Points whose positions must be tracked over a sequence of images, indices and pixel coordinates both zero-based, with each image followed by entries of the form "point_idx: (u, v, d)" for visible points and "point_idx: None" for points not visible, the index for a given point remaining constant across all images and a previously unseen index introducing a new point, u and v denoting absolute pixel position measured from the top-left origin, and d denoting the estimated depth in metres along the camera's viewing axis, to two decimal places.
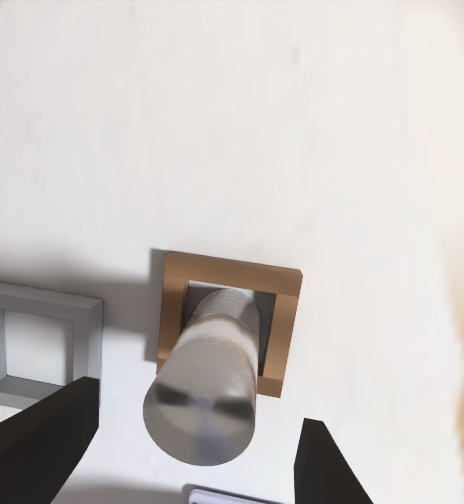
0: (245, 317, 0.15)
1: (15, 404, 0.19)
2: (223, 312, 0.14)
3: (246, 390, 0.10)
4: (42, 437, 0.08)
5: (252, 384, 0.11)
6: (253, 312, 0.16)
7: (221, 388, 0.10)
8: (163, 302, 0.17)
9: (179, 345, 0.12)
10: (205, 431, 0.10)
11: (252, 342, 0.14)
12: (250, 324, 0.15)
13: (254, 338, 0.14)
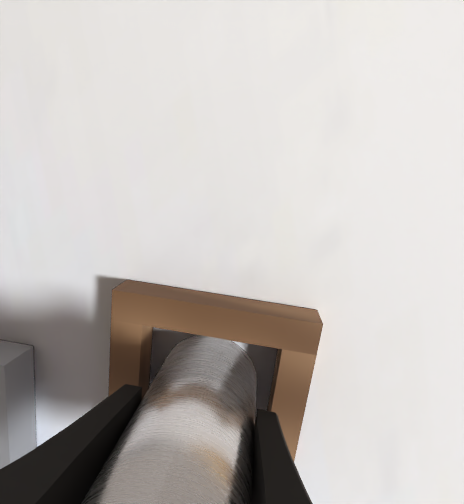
0: (232, 393, 0.09)
1: None
2: (195, 390, 0.09)
3: None
4: (97, 449, 0.08)
5: None
6: (246, 376, 0.11)
7: None
8: (112, 358, 0.11)
9: (103, 481, 0.06)
10: None
11: (242, 451, 0.08)
12: (240, 407, 0.09)
13: (246, 436, 0.09)
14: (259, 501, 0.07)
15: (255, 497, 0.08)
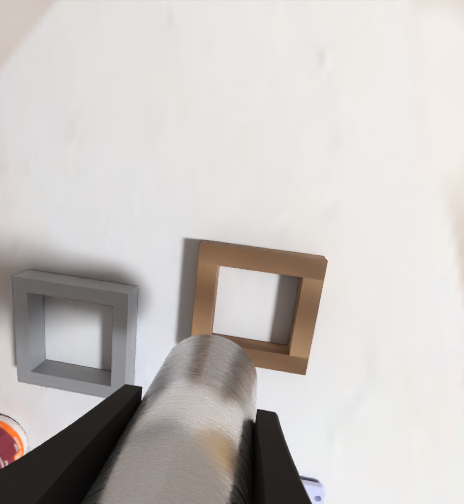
0: (233, 393, 0.09)
1: (56, 385, 0.21)
2: (195, 390, 0.09)
3: None
4: (97, 449, 0.08)
5: None
6: (247, 375, 0.11)
7: None
8: (197, 287, 0.18)
9: (104, 480, 0.06)
10: None
11: (242, 450, 0.08)
12: (241, 406, 0.09)
13: (246, 436, 0.09)
14: (259, 501, 0.07)
15: (255, 497, 0.08)
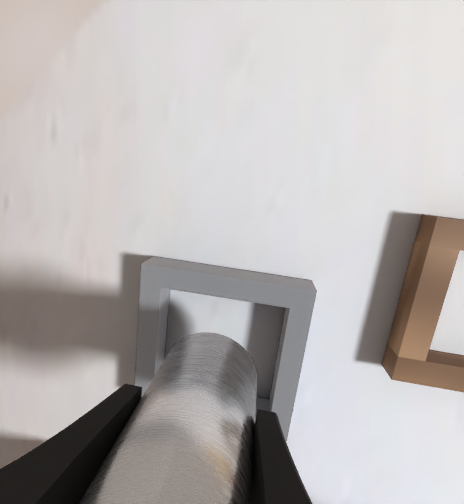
0: (234, 392, 0.09)
1: None
2: (196, 388, 0.09)
3: None
4: (97, 449, 0.08)
5: None
6: (247, 374, 0.11)
7: None
8: (421, 282, 0.13)
9: (104, 477, 0.06)
10: None
11: (243, 449, 0.08)
12: (241, 405, 0.09)
13: (247, 435, 0.08)
14: (259, 501, 0.07)
15: (255, 497, 0.08)
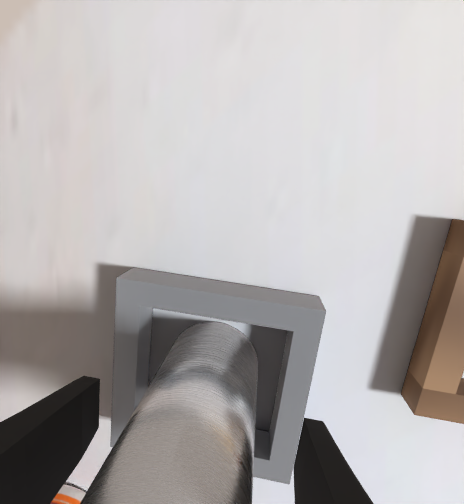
0: (237, 372, 0.10)
1: None
2: (204, 368, 0.10)
3: None
4: (42, 437, 0.08)
5: None
6: (249, 358, 0.12)
7: None
8: (453, 301, 0.10)
9: (126, 438, 0.07)
10: None
11: (246, 420, 0.09)
12: (244, 384, 0.10)
13: (249, 409, 0.09)
14: None
15: None
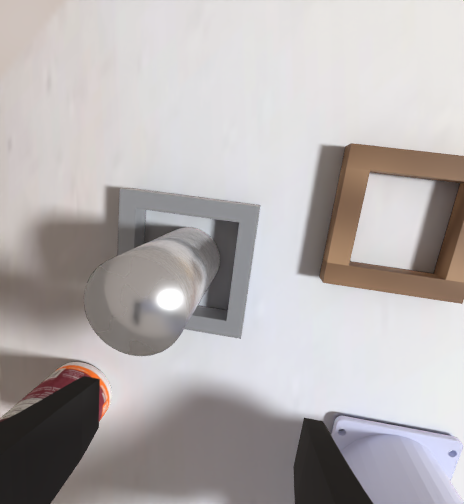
0: (199, 243, 0.16)
1: None
2: (176, 235, 0.15)
3: (179, 280, 0.11)
4: (42, 437, 0.08)
5: (189, 282, 0.12)
6: (210, 245, 0.17)
7: (155, 275, 0.11)
8: (342, 198, 0.16)
9: None
10: (141, 320, 0.11)
11: (201, 260, 0.14)
12: (203, 250, 0.15)
13: (205, 260, 0.15)
14: None
15: None
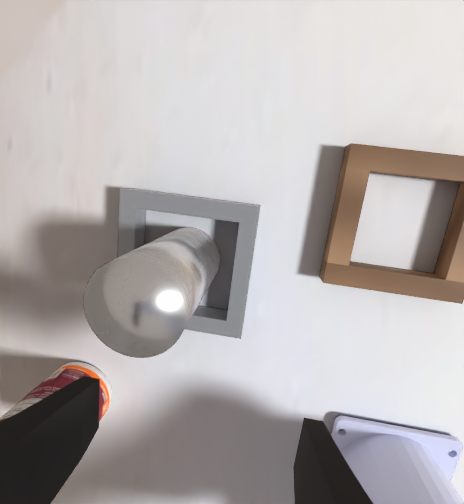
0: (199, 244, 0.16)
1: None
2: (176, 236, 0.15)
3: (179, 283, 0.11)
4: (42, 437, 0.08)
5: (189, 284, 0.12)
6: (210, 246, 0.17)
7: (154, 278, 0.11)
8: (342, 198, 0.16)
9: None
10: (141, 322, 0.11)
11: (200, 261, 0.14)
12: (203, 250, 0.15)
13: (204, 261, 0.15)
14: None
15: None
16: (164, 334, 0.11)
